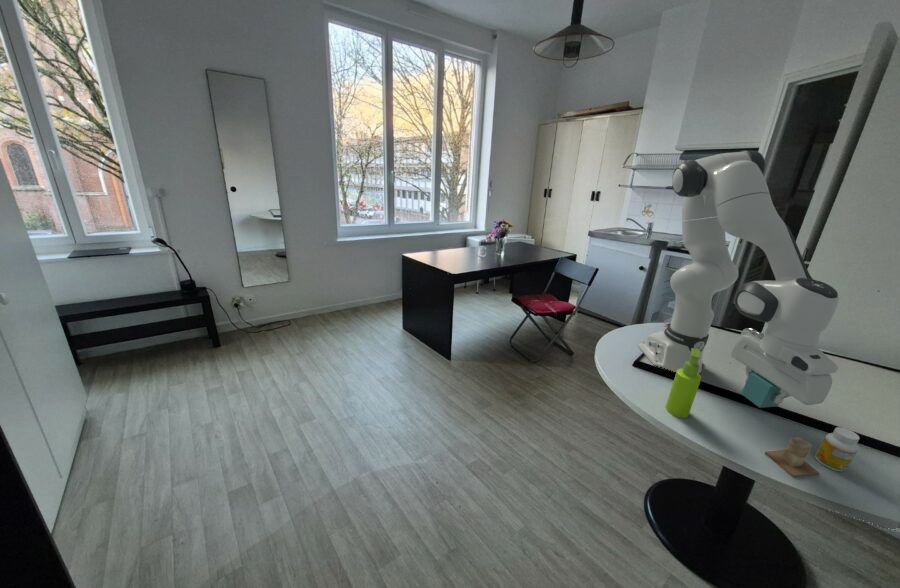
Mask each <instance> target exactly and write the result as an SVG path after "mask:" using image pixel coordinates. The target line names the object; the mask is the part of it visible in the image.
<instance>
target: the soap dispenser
mask: <svg viewBox="0 0 900 588" xmlns="http://www.w3.org/2000/svg"><path fill="white" fill-rule="evenodd" d="M699 358H700V350H698V349H694V348H692V349H691V358H690V361H686V362H685V364H684V368H682V369H678V370H677V372H676V373H675V377H673V378H674V379H673V382H672V386H671V388H670V390H669V391H670V392H669V393H668V394H669V395H668V398H667V401H666V405H665V409H666V410H667V413H669V414H671V415H673V416H675V417H678V418H683V419H684V418H688V417H689V414H690V412H691V409H692V406H693V404H694V400H695V398H696V395H697V392H698V389H699V386H700V384H701V380H702V376H701V375H700V373H699V374H698V373H697V372H698V369H699V364H697V361H698V359H699Z"/></svg>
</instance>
